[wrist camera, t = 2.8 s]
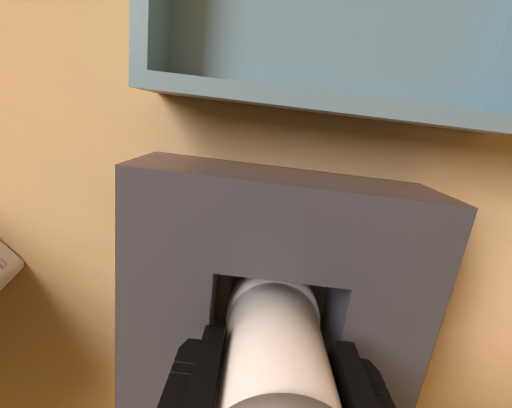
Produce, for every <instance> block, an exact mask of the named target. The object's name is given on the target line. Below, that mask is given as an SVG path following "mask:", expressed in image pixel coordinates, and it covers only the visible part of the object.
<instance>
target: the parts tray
mask: <svg viewBox="0 0 512 408" xmlns="http://www.w3.org/2000/svg"><path fill="white" fill-rule="evenodd" d="M129 87H132V88H137V89H141V90H146V91H150V92H155V93H160V94H169V95H177V96H185V97H193V98H201V99H209V100H217V101H226V102H234V103H242V104H250V105H258V106H266V107H274V108H282V109H291V110H299V111H307V112H315V113H323V114H331V115H339V116H348V117H356V118H364V119H372V120H380V121H388V122H396V123H405V124H413V125H421V126H429V127H437V128H445V129H453V130H461V131H470V132H478V133H489V134H503V135H512V0H130V11H129Z"/></svg>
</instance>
